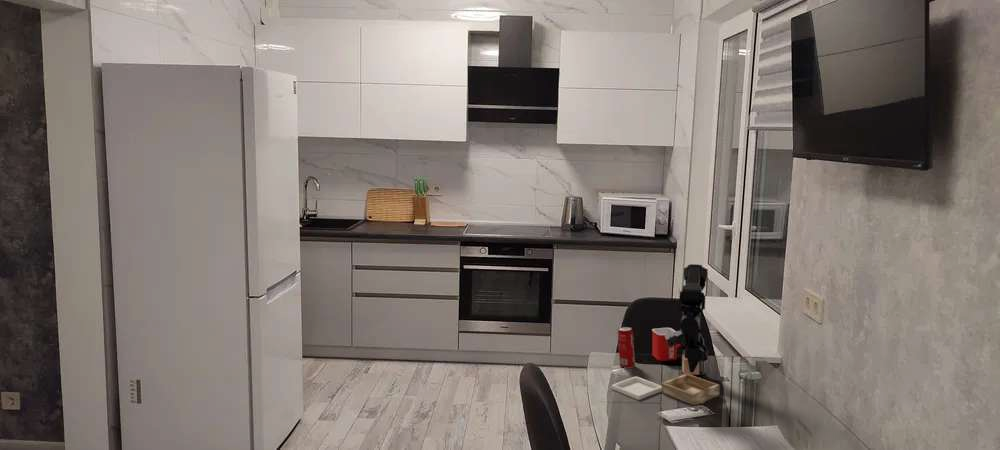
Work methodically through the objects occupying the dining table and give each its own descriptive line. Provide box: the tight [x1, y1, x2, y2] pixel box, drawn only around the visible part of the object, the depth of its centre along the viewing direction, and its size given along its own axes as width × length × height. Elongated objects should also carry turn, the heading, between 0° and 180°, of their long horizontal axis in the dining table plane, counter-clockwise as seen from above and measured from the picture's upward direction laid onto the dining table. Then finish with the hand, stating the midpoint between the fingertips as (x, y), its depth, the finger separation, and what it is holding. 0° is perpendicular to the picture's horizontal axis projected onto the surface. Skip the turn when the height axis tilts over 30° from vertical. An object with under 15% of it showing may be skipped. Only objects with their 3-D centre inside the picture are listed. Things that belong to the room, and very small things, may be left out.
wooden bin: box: [660, 374, 721, 406], centre depth 234 cm, size 14×14×4 cm
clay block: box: [681, 354, 699, 375], centre depth 233 cm, size 5×5×5 cm
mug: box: [651, 327, 682, 362], centre depth 271 cm, size 12×8×11 cm
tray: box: [610, 375, 661, 401], centre depth 239 cm, size 13×13×2 cm
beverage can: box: [617, 326, 636, 369], centre depth 262 cm, size 6×6×15 cm
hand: (690, 369), depth 233 cm, fingers closed on clay block, 5 cm apart
